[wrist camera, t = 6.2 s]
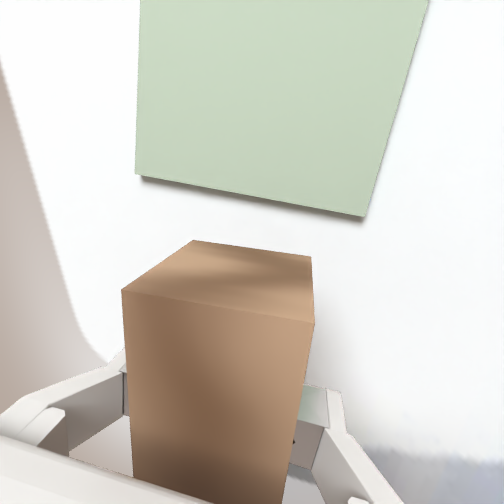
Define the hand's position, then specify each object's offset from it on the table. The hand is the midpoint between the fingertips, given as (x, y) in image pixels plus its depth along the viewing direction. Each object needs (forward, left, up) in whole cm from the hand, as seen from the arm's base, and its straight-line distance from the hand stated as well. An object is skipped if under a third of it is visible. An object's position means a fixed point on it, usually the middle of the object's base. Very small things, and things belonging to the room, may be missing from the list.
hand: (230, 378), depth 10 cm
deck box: (0, 0, -2) cm, 2 cm away
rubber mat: (+2, -12, -8) cm, 14 cm away
